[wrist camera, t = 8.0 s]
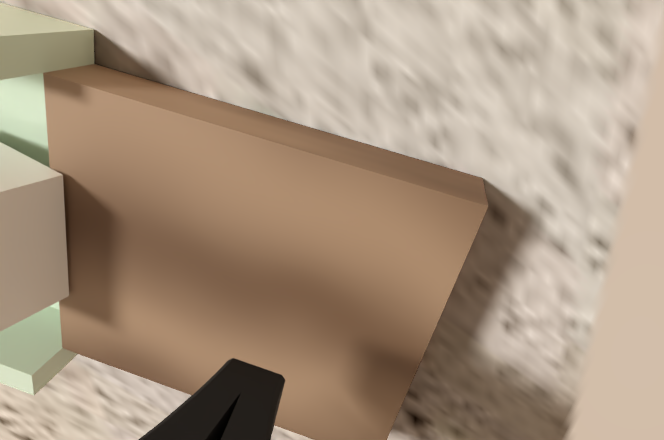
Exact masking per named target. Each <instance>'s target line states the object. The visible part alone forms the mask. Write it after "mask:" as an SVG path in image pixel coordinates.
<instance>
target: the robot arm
mask: <svg viewBox="0 0 664 440" xmlns="http://www.w3.org/2000/svg"><path fill="white" fill-rule="evenodd" d="M284 384H285V379H284V377H283V376H282V375H281V374H278V373H275V372H272V371H269V370H267V369H264V368H261V367H258V366H255V365H252V364H249V363H246V362H244V361H241V360H238V359H235V358H232V359H229V360H228V361H227V362H226V363H225V364H224V365H223V366H222V367H221V368H220V369H219V370H218V371H217V372H216V373H215V374H214V375H213V376H212V377H211V378H210V379H209V380H208V381H207V382H206V383H205V384H204V385H203V386H202V387H201V388H200V389H199V390H197V391H196V392H195V393H194V394H193V395H192V396H191V397H190V398H189V399H188V400H186V401H185V402H184V403H183V404H182V405H180V406H179V407H178V408H177V409H176V410H175V411H173V412H172V413H171V414H170V415H169V416H168V417H166V418H165V419H164V420H163V421H162V422H160V423H159V424H158V425H157V426H156V427H154V428H153V429H152V430H150V431H149V432H148V433H147V434H145V435H144V436H143V437H141V438H140V439H139V440H270V439H271V434H272V431H273V427H274V423H275V419H276V415H277V411H278V408H279V404H280V400H281V396H282V392H283V388H284Z"/></svg>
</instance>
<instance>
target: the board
mask: <svg viewBox="0 0 664 440" xmlns="http://www.w3.org/2000/svg"><path fill="white" fill-rule="evenodd" d="M43 78H44V93H45V107H46V122H47V136H48V150H49V165H50V168H51V169H53V170H55V171H57V172H58V173H60V174H62V175H63V187H64V206H65V226H66V245H67V265H68V284H69V296H68V297H66V298H64V299H62V300H60V301H59V309H60V323H61V338H62V348H63V349H66V350H69V351H72V352H74V353H77V354H80V355H83V356H85V357H88V358H91V359H94V360H96V361H99V362H102V363H105V364H107V365H110V366H113V367H116V368H118V369H121V370H124V371H127V372H129V373H132V374H135V375H138V376H140V377H143V378H146V379H149V380H151V381H154V382H157V383H160V384H162V385H165V386H168V387H171V388H173V389H176V390H179V391H182V392H185V393H187V394H190V395H193V394H194V393H195V392H196V391H197V390H199V389H200V388H201V387H202V386H203V385H204V384H205V383H206V382H207V381H208V380H209V379H210V378H211V377H212V376H213V375H214V374H215V373H216V372H217V371H218V370H219V369H220V368H221V367H222V366H223V365H224V364H225V363H226V362H227V361H228V360H229V359H232V358H235V359H238V360H241V361H244V362H246V363H249V364H252V365H255V366H258V367H261V368H264V369H267V370H269V371H272V372H275V373H278V374H281V375H282V376H283V377H284V379H285V384H284V388H283V392H282V396H281V400H280V404H279V408H278V411H277V415H276V419H275V423H274V425H275V426H278V427H281V428H284V429H286V430H289V431H292V432H295V433H297V434H300V435H303V436H306V437H308V438H311V439H314V440H387V438H388V435H389V433H390V431H391V429H392V426H393V424H394V422H395V419H396V417H397V415H398V413H399V410H400V408H401V406H402V403H403V401H404V399H405V396H406V394H407V392H408V390H409V387H410V385H411V383H412V380H413V378H414V376H415V374H416V371H417V369H418V367H419V364H420V362H421V360H422V358H423V355H424V353H425V351H426V348H427V346H428V344H429V342H430V339H431V337H432V335H433V332H434V330H435V328H436V325H437V323H438V321H439V319H440V316H441V314H442V312H443V309H444V307H445V305H446V303H447V300H448V298H449V296H450V293H451V291H452V289H453V287H454V284H455V282H456V280H457V277H458V275H459V273H460V271H461V268H462V266H463V264H464V261H465V259H466V257H467V254H468V252H469V250H470V248H471V245H472V243H473V241H474V238H475V236H476V234H477V232H478V229H479V227H480V225H481V222H482V220H483V218H484V216H485V213H486V211H487V209H488V202H487V197H486V192H485V188H484V183H483V178H480V177H476V176H473V175H470V174H466V173H463V172H459V171H456V170H453V169H449V168H446V167H442V166H439V165H436V164H432V163H429V162H425V161H422V160H419V159H415V158H412V157H408V156H405V155H402V154H398V153H395V152H391V151H388V150H385V149H381V148H378V147H374V146H371V145H368V144H364V143H361V142H358V141H354V140H351V139H347V138H344V137H341V136H337V135H334V134H330V133H327V132H324V131H320V130H317V129H313V128H310V127H307V126H303V125H300V124H296V123H293V122H290V121H286V120H283V119H279V118H276V117H273V116H269V115H266V114H262V113H259V112H256V111H252V110H249V109H245V108H242V107H239V106H235V105H232V104H228V103H225V102H222V101H218V100H215V99H211V98H208V97H205V96H201V95H198V94H195V93H191V92H188V91H184V90H181V89H178V88H174V87H171V86H167V85H164V84H161V83H157V82H154V81H150V80H147V79H144V78H140V77H137V76H133V75H130V74H127V73H123V72H120V71H116V70H113V69H110V68H106V67H103V66H99V65H96V64H92V65H86V66H80V67H74V68H68V69H63V70H57V71H51V72H45V73H43Z"/></svg>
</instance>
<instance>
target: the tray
mask: <svg viewBox="0 0 664 440" xmlns="http://www.w3.org/2000/svg"><path fill="white" fill-rule="evenodd" d="M92 64H94V29H91V28H87V27H84V26H80V25H77V24H73V23H70V22H66V21H63V20H59V19H56V18H52V17H49V16H45V15H42V14H38V13H35V12H31V11H28V10H24V9H21V8H17V7H14V6H10V5H7V4H3V3H0V142H1V143H3V144H5V145H7V146H9V147H11V148H13V149H15V150H16V151H18V152H20V153H22V154H24V155H26V156H28V157H30V158H32V159H34V160H36V161H37V162H39V163H41V164H43V165H45V166H47V167H49V168H50V165H49V150H48V136H47V122H46V107H45V93H44V78H43V73H45V72H51V71H57V70H63V69H68V68H74V67H80V66H86V65H92ZM76 355H77V353H74V352H72V351H69V350H66V349H63V348H62V338H61V323H60V309H59V301H58V302H57V303H55V304H53V305H51V306H49V307H47V308H45V309H43V310H41V311H39V312H37V313H35V314H33V315H31V316H30V317H28V318H26V319H24V320H22V321H20V322H18V323H16V324H14V325H12V326H10V327H8V328H6V329H4V330H3V331H1V332H0V383H2V384H5V385H7V386H10V387H12V388H15V389H18V390H20V391H23V392H26V393H28V394H31V395H35V394H36V393H37V392H38V391H39V390H40V389H41V388H43V387H44V386H45V385H46V384H47V383H48V382H49V381H50V380H51V379H52V378H53V377H54V376H55V375H56V374H57V373H58V372H59V371H60V370H61V369H62V368H64V367H65V366H66V365H67V364H68V363H69V362H70V361H71V360H72V359H73V358H74V357H75V356H76Z"/></svg>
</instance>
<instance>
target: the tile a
mask: <svg viewBox="0 0 664 440" xmlns="http://www.w3.org/2000/svg"><path fill="white" fill-rule="evenodd" d="M68 296H69V284H68V265H67V245H66V226H65V206H64V187H63V175H62V174H60V173H58V172H57V171H55V170H53V169H51V168H49V167H47V166H45V165H43V164H41V163H39V162H37V161H36V160H34V159H32V158H30V157H28V156H26V155H24V154H22V153H20V152H18V151H16V150H15V149H13V148H11V147H9V146H7V145H5V144H3V143H1V142H0V332H1V331H3V330H4V329H6V328H8V327H10V326H12V325H14V324H16V323H18V322H20V321H22V320H24V319H26V318H28V317H30V316H31V315H33V314H35V313H37V312H39V311H41V310H43V309H45V308H47V307H49V306H51V305H53V304H55V303H57V302H58V301H60V300H62V299H64V298H66V297H68Z"/></svg>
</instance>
